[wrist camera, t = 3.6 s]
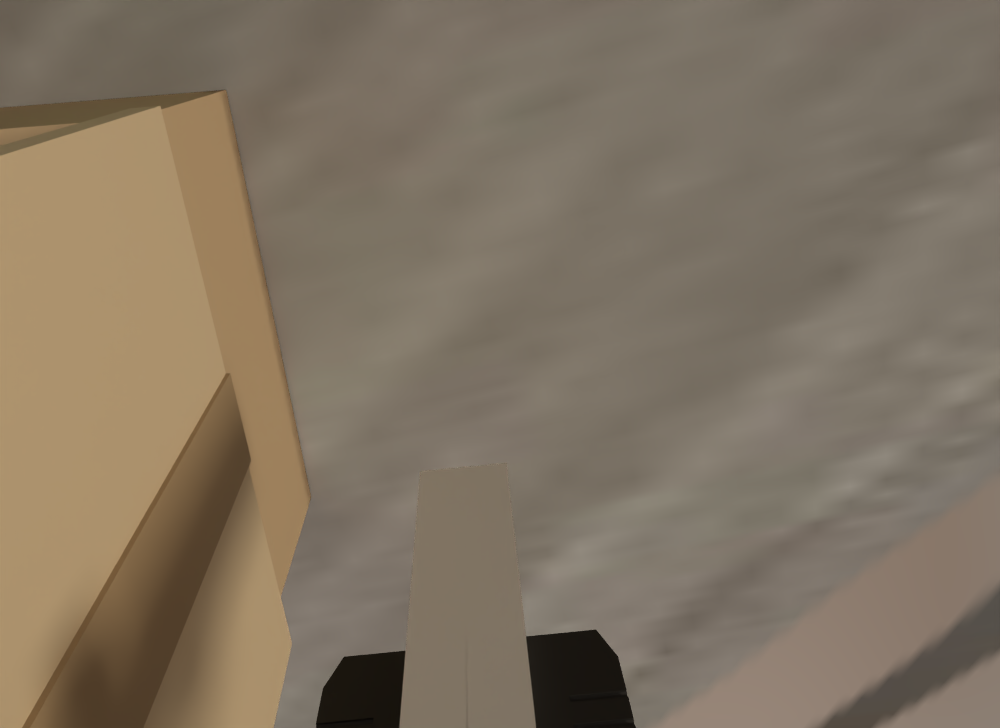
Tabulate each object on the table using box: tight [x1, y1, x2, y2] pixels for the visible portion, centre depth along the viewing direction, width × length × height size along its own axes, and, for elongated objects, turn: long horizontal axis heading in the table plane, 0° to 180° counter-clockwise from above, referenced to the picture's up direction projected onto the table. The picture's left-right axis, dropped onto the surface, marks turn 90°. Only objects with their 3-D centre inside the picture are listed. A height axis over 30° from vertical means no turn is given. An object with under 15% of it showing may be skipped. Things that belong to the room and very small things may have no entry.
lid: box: [0, 106, 292, 728], centre depth 13 cm, size 14×12×1 cm
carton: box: [0, 90, 311, 597], centre depth 21 cm, size 14×12×7 cm
